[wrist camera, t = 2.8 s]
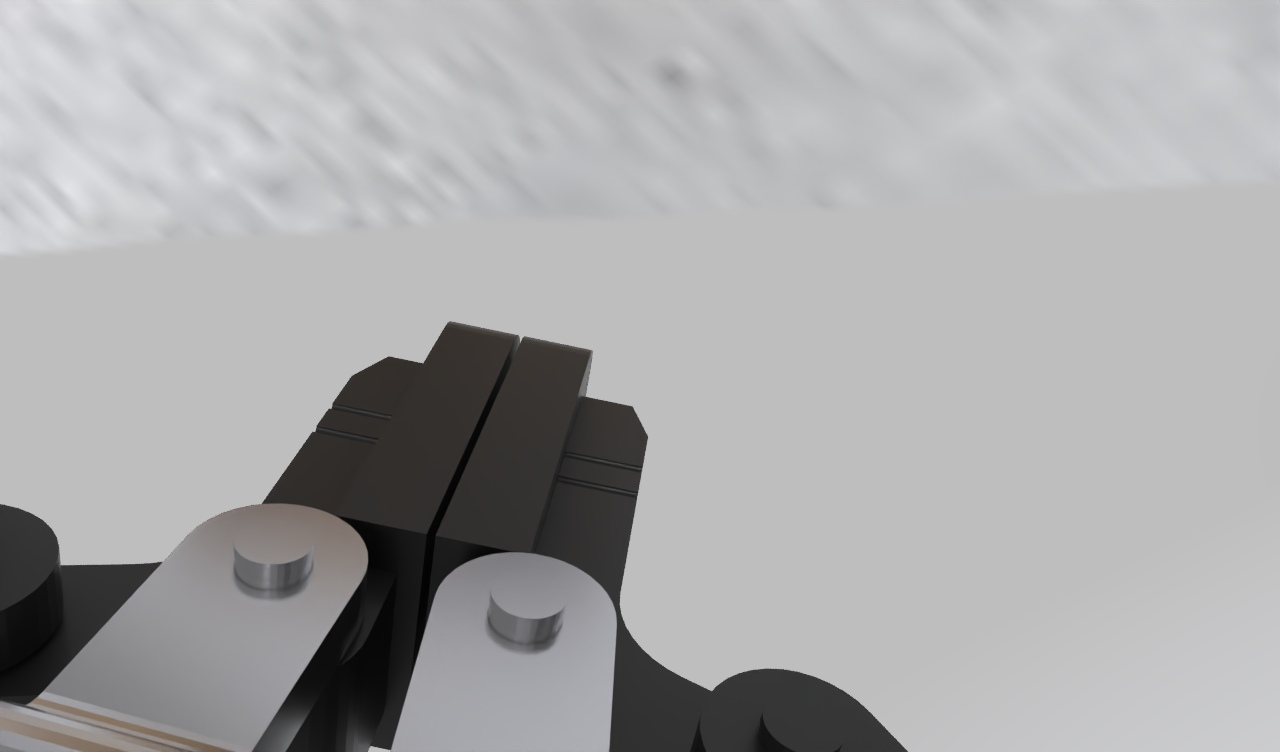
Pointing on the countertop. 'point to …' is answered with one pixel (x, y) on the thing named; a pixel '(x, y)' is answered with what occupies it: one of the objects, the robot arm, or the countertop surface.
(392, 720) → the robot arm
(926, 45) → the countertop surface
